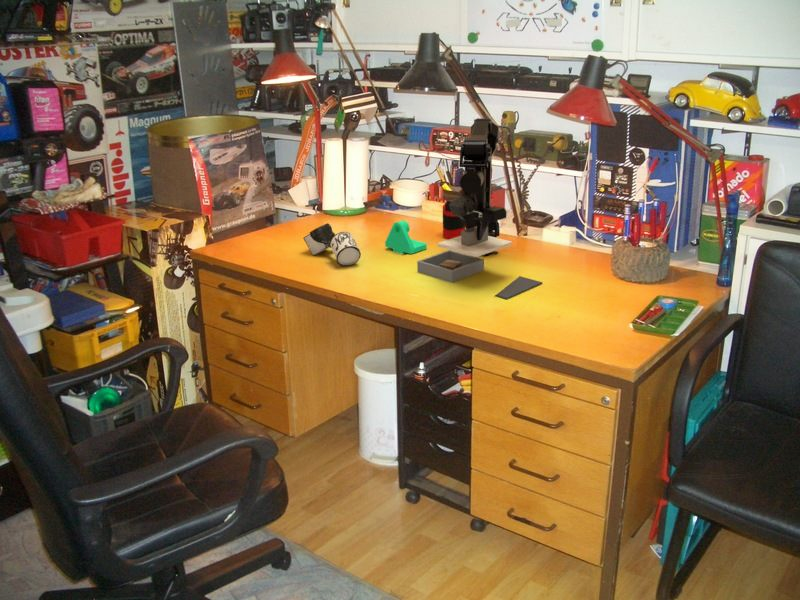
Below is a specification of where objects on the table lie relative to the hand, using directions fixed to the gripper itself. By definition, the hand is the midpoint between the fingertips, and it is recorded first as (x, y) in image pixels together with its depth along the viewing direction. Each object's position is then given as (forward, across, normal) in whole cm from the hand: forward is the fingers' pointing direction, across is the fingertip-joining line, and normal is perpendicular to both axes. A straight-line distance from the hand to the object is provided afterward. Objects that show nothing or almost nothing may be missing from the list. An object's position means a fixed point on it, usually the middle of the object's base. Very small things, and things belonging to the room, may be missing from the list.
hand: (475, 238), depth 225 cm
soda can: (+12, -34, +26) cm, 45 cm away
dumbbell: (+12, -46, -16) cm, 50 cm away
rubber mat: (+12, +9, +2) cm, 15 cm away
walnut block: (+12, -9, -1) cm, 15 cm away
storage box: (+12, -9, -1) cm, 15 cm away
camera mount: (+12, -35, +6) cm, 38 cm away
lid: (+2, 0, 0) cm, 2 cm away
